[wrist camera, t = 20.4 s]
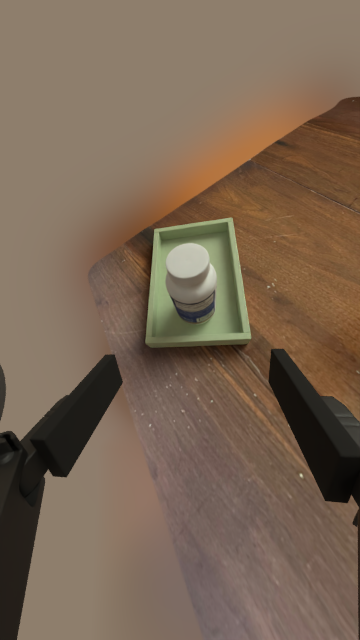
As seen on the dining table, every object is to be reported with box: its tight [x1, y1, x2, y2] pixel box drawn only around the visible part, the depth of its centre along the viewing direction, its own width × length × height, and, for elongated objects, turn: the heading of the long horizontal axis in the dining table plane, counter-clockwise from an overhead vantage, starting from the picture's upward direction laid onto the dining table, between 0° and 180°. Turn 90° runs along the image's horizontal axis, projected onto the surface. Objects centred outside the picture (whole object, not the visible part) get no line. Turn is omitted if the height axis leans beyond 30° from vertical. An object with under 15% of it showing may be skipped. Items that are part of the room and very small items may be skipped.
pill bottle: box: [165, 243, 217, 325], centre depth 20 cm, size 5×5×10 cm
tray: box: [145, 218, 251, 348], centre depth 26 cm, size 20×13×2 cm, turn 0°
